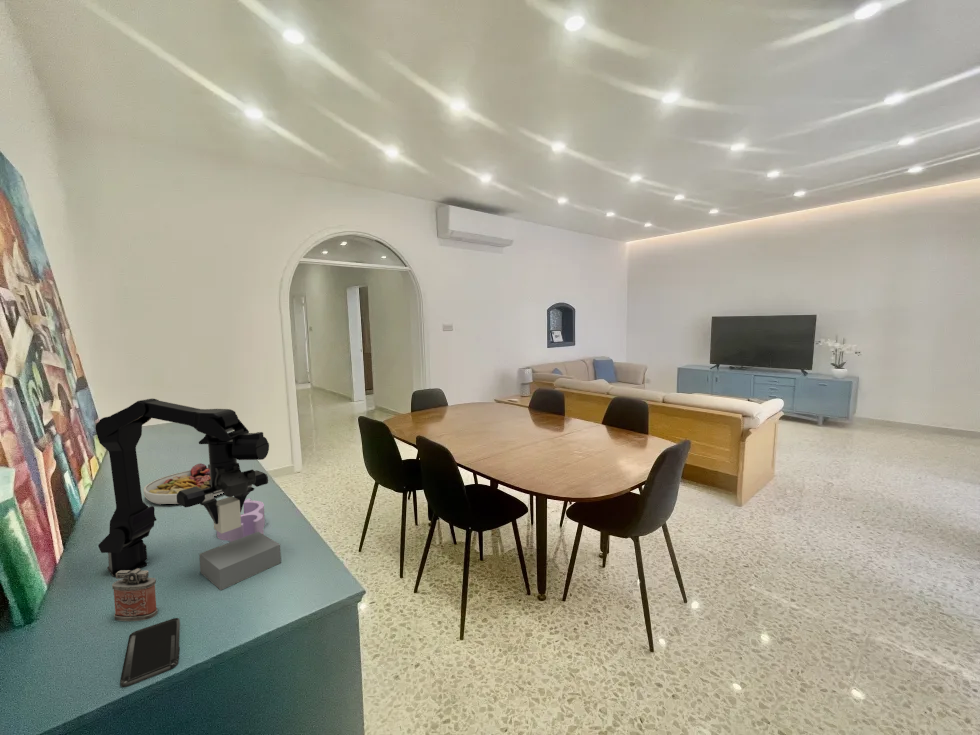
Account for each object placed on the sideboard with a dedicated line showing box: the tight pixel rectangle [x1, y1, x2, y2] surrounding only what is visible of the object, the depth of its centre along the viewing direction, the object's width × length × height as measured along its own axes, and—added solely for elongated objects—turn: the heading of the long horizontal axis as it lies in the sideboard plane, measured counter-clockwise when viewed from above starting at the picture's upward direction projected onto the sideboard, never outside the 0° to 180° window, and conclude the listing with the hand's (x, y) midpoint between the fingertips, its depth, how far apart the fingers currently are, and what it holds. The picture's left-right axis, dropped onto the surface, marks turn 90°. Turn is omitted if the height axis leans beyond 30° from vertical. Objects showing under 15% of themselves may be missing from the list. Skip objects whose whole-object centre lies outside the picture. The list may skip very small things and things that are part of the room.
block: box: [213, 496, 242, 534], centre depth 101 cm, size 4×4×7 cm
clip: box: [216, 498, 266, 542], centre depth 120 cm, size 20×12×7 cm, turn 41°
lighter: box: [111, 568, 159, 622], centre depth 84 cm, size 8×3×10 cm, turn 92°
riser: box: [199, 532, 282, 591], centre depth 102 cm, size 14×12×5 cm
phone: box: [119, 617, 181, 688], centre depth 75 cm, size 8×1×15 cm
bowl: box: [143, 463, 224, 505], centre depth 153 cm, size 30×30×8 cm
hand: (227, 520), depth 102 cm, fingers closed on block, 4 cm apart
